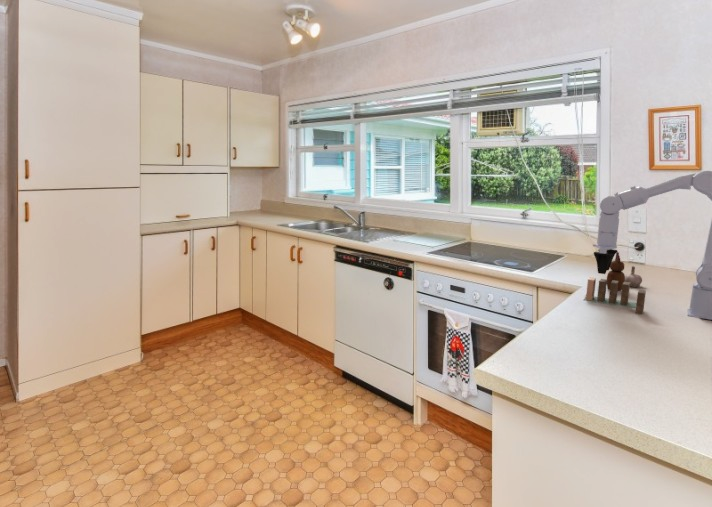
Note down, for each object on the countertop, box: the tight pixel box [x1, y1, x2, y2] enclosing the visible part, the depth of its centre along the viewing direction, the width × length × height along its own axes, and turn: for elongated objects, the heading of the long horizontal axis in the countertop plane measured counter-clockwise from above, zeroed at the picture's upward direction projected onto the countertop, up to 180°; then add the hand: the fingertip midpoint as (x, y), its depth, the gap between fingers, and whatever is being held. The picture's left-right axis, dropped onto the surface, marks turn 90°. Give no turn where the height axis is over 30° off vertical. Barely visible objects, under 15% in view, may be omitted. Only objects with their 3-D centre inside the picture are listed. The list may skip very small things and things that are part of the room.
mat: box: [583, 295, 637, 310], centre depth 146 cm, size 17×8×1 cm, turn 53°
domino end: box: [585, 277, 597, 300], centre depth 150 cm, size 2×4×7 cm, turn 143°
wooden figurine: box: [606, 250, 626, 292], centre depth 162 cm, size 7×6×15 cm
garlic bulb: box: [624, 265, 643, 288], centre depth 170 cm, size 8×7×8 cm
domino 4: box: [634, 289, 647, 315], centre depth 135 cm, size 2×4×7 cm, turn 143°
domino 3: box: [620, 282, 631, 306], centre depth 144 cm, size 2×4×7 cm, turn 143°
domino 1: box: [596, 278, 607, 302], centre depth 148 cm, size 2×4×7 cm, turn 143°
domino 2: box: [608, 280, 619, 304], centre depth 146 cm, size 2×4×7 cm, turn 143°
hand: (603, 271), depth 148 cm, fingers open, 7 cm apart
